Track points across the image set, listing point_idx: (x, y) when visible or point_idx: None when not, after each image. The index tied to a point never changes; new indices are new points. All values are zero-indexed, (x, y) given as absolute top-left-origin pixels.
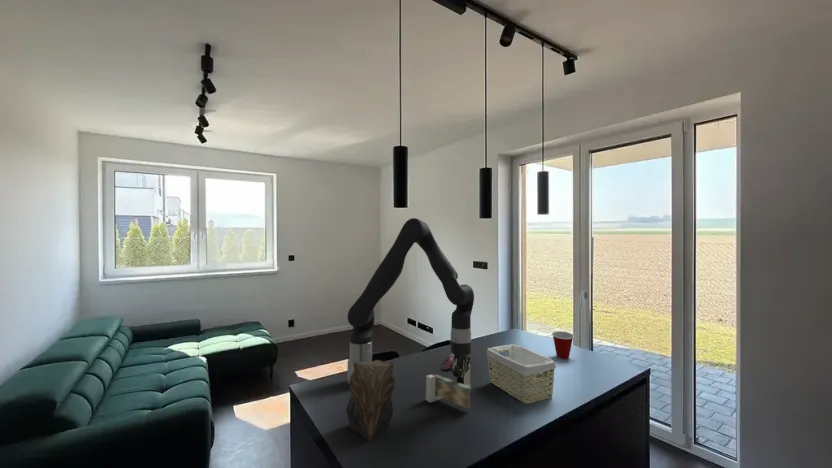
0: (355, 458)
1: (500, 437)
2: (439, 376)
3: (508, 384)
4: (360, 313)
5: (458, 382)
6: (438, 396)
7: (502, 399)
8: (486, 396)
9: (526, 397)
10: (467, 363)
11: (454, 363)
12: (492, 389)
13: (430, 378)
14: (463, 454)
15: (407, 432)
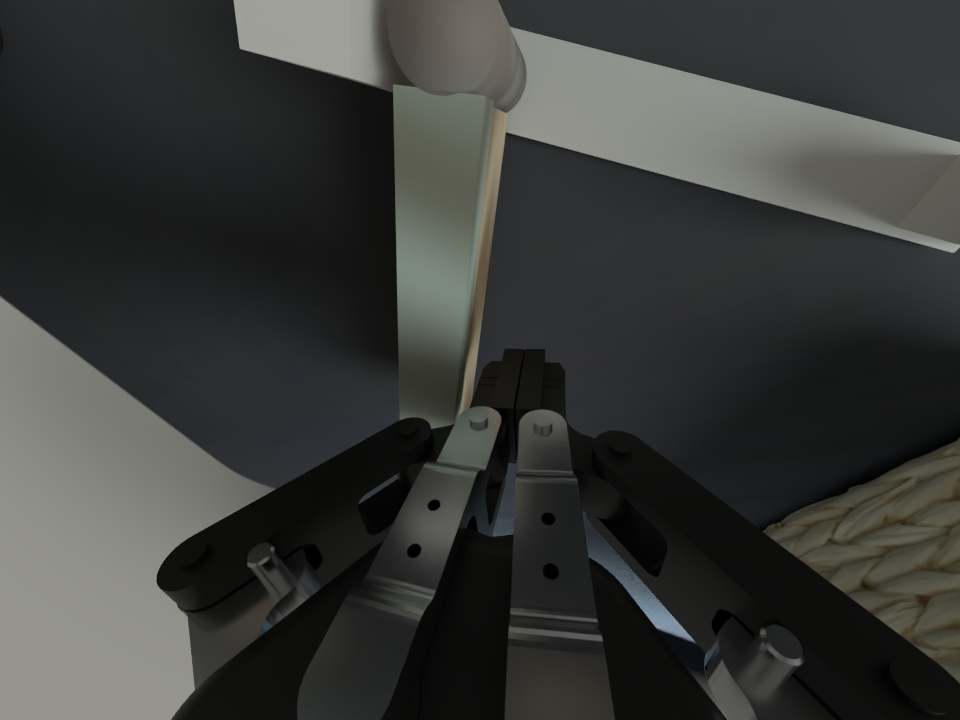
0: None
1: None
2: (448, 115)
3: (844, 567)
4: None
5: (452, 412)
6: None
7: (722, 481)
8: (732, 407)
9: None
10: (690, 631)
11: (198, 662)
12: (894, 412)
13: (245, 49)
14: (229, 447)
15: (91, 218)
